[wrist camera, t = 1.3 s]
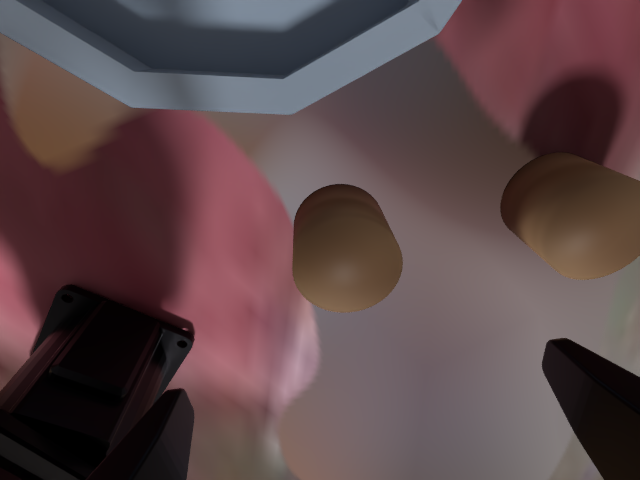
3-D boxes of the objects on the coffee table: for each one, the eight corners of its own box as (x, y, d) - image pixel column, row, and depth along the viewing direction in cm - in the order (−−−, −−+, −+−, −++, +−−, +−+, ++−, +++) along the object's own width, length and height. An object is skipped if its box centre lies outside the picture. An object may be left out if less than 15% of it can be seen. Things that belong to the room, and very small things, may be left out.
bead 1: (349, 277, 18) (360, 327, 15) (277, 239, 16) (272, 284, 13) (401, 213, 16) (424, 252, 13) (326, 166, 15) (332, 198, 12)
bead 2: (540, 251, 17) (592, 295, 14) (481, 210, 16) (523, 249, 13) (611, 183, 16) (685, 216, 13) (551, 133, 15) (617, 157, 12)
